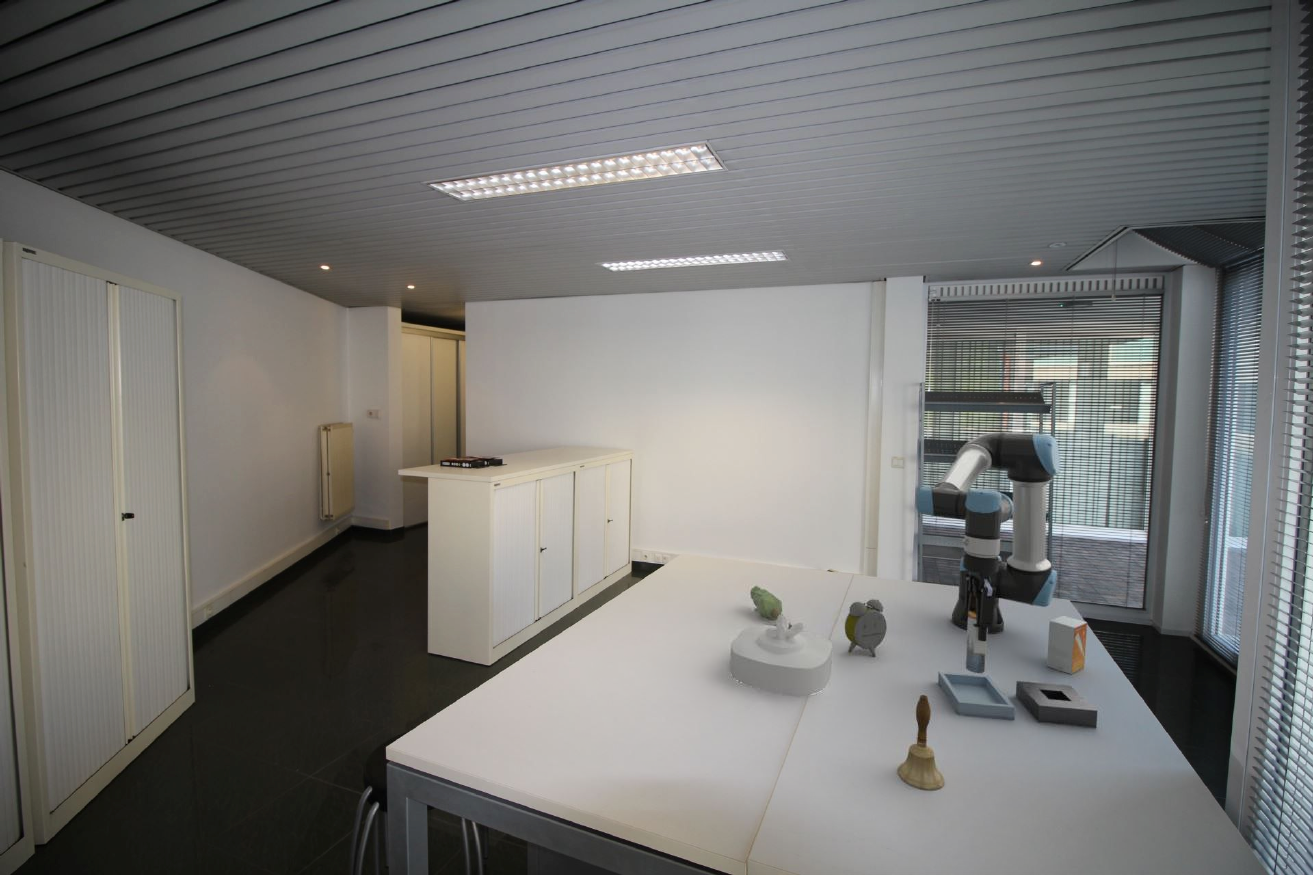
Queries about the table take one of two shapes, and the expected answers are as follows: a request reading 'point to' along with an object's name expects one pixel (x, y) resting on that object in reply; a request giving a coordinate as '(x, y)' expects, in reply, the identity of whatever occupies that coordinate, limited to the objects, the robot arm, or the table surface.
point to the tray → (976, 696)
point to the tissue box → (782, 659)
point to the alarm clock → (865, 625)
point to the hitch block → (1056, 704)
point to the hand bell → (921, 755)
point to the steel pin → (973, 660)
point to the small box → (1066, 644)
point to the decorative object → (766, 603)
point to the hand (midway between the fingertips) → (976, 648)
